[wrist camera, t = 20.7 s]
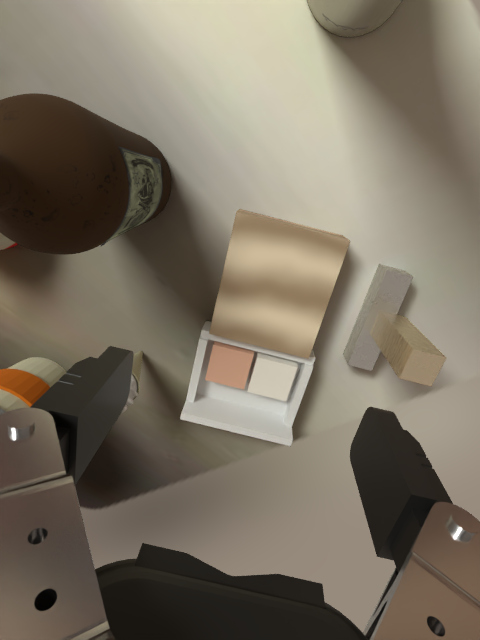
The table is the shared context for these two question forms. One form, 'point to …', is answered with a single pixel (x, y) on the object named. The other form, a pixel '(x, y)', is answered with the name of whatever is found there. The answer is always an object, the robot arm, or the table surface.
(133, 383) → the ice cream cone
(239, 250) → the tan flat block
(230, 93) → the table surface
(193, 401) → the box
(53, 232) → the brown rum bottle
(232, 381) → the terracotta tile
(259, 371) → the offwhite tile
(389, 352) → the scraper
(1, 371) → the reusable coffee cup
